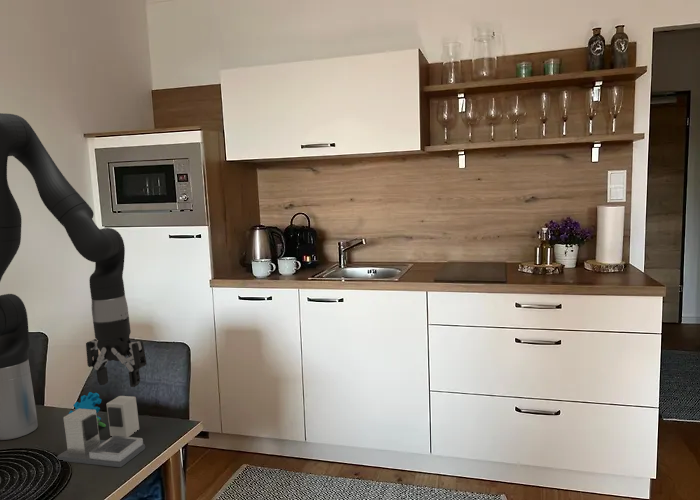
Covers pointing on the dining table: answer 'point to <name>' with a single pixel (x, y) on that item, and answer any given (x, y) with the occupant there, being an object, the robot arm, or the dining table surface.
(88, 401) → the blue spiky virus toy
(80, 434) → the base with upright block
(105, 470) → the dining table surface
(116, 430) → the block
